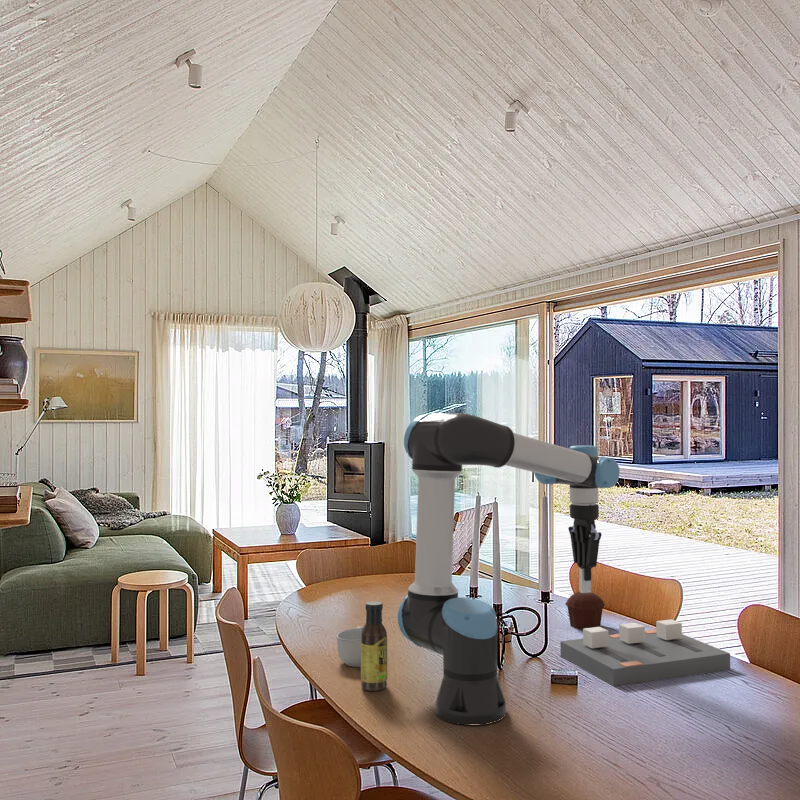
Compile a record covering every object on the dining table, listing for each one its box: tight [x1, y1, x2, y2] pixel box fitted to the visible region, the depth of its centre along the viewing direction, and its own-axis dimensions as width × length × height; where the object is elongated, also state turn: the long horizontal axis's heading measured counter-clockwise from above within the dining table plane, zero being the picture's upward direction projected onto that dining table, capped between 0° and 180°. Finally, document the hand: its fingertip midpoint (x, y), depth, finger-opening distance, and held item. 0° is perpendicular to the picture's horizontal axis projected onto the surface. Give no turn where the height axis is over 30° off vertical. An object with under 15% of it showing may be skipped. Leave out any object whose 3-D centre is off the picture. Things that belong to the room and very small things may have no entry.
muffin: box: [565, 591, 606, 631], centre depth 237 cm, size 12×11×10 cm
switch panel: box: [559, 629, 731, 687], centre depth 202 cm, size 24×34×4 cm
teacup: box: [336, 626, 363, 668], centre depth 206 cm, size 14×11×8 cm
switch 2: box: [655, 619, 683, 640], centre depth 209 cm, size 4×5×4 cm
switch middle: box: [618, 622, 646, 644], centre depth 206 cm, size 4×5×4 cm
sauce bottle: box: [360, 600, 388, 692], centre depth 186 cm, size 6×6×20 cm
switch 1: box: [582, 626, 610, 648], centre depth 203 cm, size 4×5×4 cm
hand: (585, 592), depth 210 cm, fingers closed
